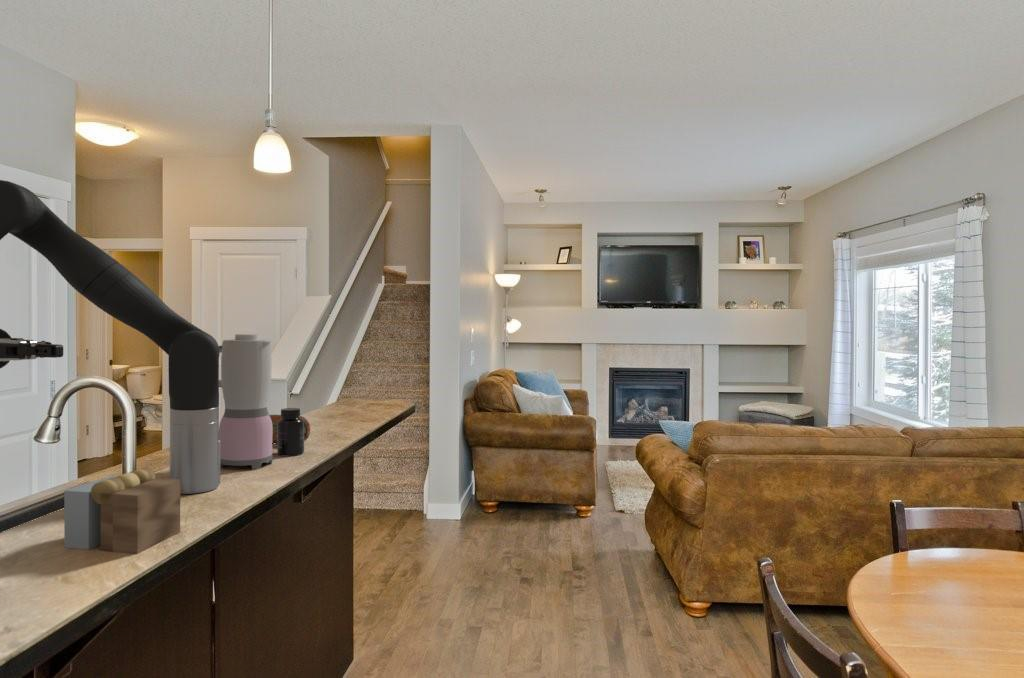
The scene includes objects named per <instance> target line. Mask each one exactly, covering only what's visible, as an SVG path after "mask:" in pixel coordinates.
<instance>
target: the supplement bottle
mask: <svg viewBox="0 0 1024 678" xmlns="http://www.w3.org/2000/svg"><path fill="white" fill-rule="evenodd" d="M280 415H281V417H282V419H280V420H279V421H278V422H277V444H276V451H277V452H276V453H277V455H279V456H281V455H295V456H299V455H298V454H300V455H303V454H304V453H305V441H304V421H303V420H302V419H301V418H299V416H301V408H298V407H285V408H281V409H280Z"/></svg>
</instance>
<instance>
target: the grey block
mask: <svg viewBox="0 0 1024 678" xmlns="http://www.w3.org/2000/svg"><path fill="white" fill-rule="evenodd" d="M114 477H116V478H119V479H121V480H122V481H123V483H124V485H125V489H128V488H131V487H134V486H137V485H139V484H140V480H139V478H138V476H137V475H136V474H134V473H129V472H125V473H123V474H120V475H118V474H117V475H116V474H113V475H110V476H106V477H103V478H100V479H97V480H93V481H90V482H88V483H85V484H81V485H77V486H75V487H72V488H68V489H66V490H64V492H63V493H64V497H63V498H64V503H63V504H64V510H63V511H64V515H63V516H64V518H63V520H64V521H63V522H64V523H63V524H64V529H63V530H64V536H63V537H64V548H66V549H75V550H76V549H77V550H91V549H93V548H95V547H97V546H99V545H100V546H101V504H98V503H96V502H95V501H94V500H93V499H92V497H91V488H92V486H93V485H94V484H96V483H98V482H101V481H104V480H107V479H110V478H114Z"/></svg>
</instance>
